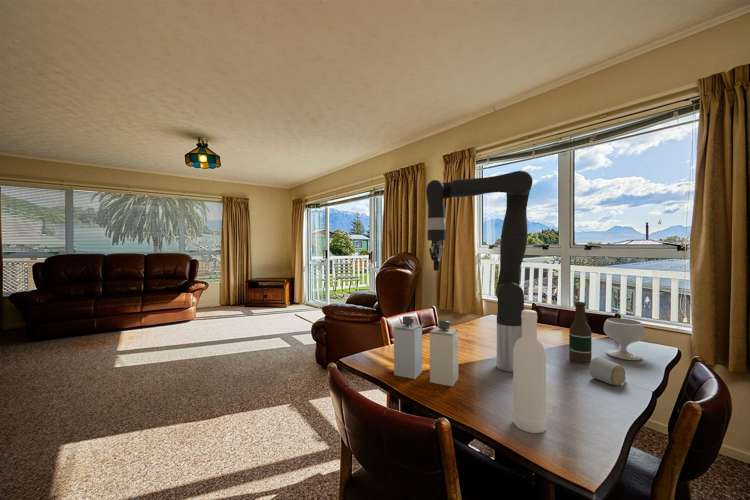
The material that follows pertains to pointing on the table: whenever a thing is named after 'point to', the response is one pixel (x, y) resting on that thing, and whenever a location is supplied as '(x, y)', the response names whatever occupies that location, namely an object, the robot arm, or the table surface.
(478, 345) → the table surface
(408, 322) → the grey plunger
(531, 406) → the bottle
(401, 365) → the block
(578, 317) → the beer bottle
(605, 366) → the cream cylinder
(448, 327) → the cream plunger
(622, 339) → the chalice
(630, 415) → the table surface
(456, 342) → the block
